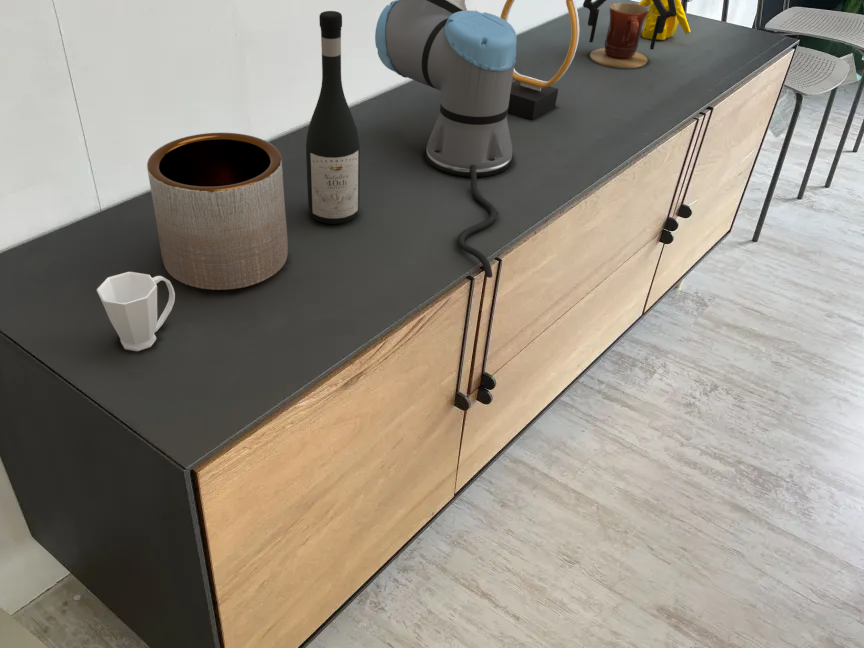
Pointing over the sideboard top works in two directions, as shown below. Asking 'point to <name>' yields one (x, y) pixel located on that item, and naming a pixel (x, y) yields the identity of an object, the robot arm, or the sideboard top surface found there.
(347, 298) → the sideboard top surface
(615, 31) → the mug
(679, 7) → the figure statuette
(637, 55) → the tan round disc
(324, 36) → the wine bottle
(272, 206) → the planter
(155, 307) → the cup
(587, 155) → the sideboard top surface
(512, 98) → the lamp
